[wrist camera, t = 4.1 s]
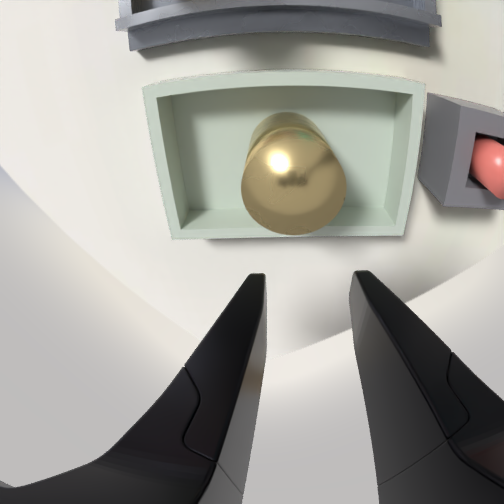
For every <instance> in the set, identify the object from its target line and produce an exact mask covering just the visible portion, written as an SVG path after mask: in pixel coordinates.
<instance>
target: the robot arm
mask: <svg viewBox="0 0 504 504" xmlns="http://www.w3.org/2000/svg"><path fill="white" fill-rule="evenodd" d="M349 304H350V313H351V321H352V331H353V340H354V349H355V355H356V360H357V364H358V369H359V374H360V379H361V384H362V389H363V394H364V399H365V405H366V411H367V416H368V422H369V428H370V435H371V440H372V448H373V453H374V462H375V469H376V477H377V485H378V495H379V504H504V401H503V400H502V399H501V398H500V397H499V396H498V395H497V394H496V393H494V392H493V391H492V390H491V389H490V388H489V387H488V386H487V385H486V384H485V383H484V382H483V381H482V380H481V379H479V378H478V377H477V376H476V375H475V374H474V373H473V372H472V371H471V370H470V369H469V368H468V367H467V366H466V365H465V364H464V363H463V362H462V361H461V360H460V359H459V357H457V355H456V354H455V353H454V352H452V353H451V349H450V348H449V347H448V346H447V345H446V344H445V343H444V342H443V341H442V340H441V339H440V338H439V337H438V336H437V335H436V334H435V333H434V332H433V331H432V330H431V329H430V328H429V327H428V326H427V325H426V324H425V323H424V322H423V321H422V320H421V319H420V318H419V317H418V316H417V315H416V314H415V313H414V312H413V311H412V310H411V309H410V308H409V307H408V306H407V305H406V304H404V303H403V302H402V301H401V300H400V299H399V298H398V297H397V296H396V295H395V294H394V293H393V292H392V291H391V290H390V289H389V288H388V287H386V286H385V285H384V284H383V283H382V282H381V281H380V280H379V279H378V278H377V277H376V276H375V275H373V274H372V273H371V272H370V271H368V270H362V271H355V272H354V273H353V276H352V282H351V287H350V292H349ZM266 348H267V292H266V276H265V274H264V273H253V274H249V275H248V277H247V278H246V279H245V281H244V282H243V284H242V285H241V287H240V288H239V289H238V291H237V292H236V294H235V295H234V296H233V298H232V299H231V301H230V302H229V303H228V305H227V306H226V308H225V309H224V310H223V312H222V313H221V315H220V316H219V317H218V319H217V320H216V322H215V323H214V324H213V326H212V327H211V329H210V330H209V331H208V333H207V334H206V336H205V337H204V338H203V340H202V341H201V342H200V344H199V345H198V347H197V348H196V349H195V351H194V352H193V354H192V355H191V356H190V358H189V359H188V360H187V362H186V363H185V367H182V369H181V370H180V371H179V373H178V374H177V375H176V377H175V378H174V380H173V381H172V382H171V384H170V385H169V386H168V387H167V389H166V390H165V391H164V392H163V394H162V395H161V396H160V397H159V398H158V399H157V401H156V402H155V403H154V404H153V405H152V406H151V407H150V408H149V409H148V411H147V412H146V413H145V414H144V415H143V416H142V417H141V418H140V419H139V420H138V421H137V422H136V423H135V424H134V425H133V426H132V427H131V428H130V429H129V430H128V431H127V432H126V434H125V435H123V437H122V438H121V439H120V440H119V441H118V442H117V443H116V444H115V445H114V446H113V447H112V448H111V449H110V450H108V451H107V452H106V453H105V454H103V455H102V456H101V457H99V458H97V459H96V460H94V461H92V462H90V463H88V464H85V465H83V466H80V467H78V468H75V469H72V470H70V471H67V472H64V473H61V474H59V475H56V476H53V477H50V478H47V479H44V480H41V481H38V482H35V483H31V484H28V485H25V486H20V487H12V486H10V485H8V484H6V483H4V482H2V481H0V504H242V499H243V493H244V488H245V482H246V477H247V471H248V466H249V460H250V454H251V449H252V442H253V437H254V430H255V425H256V418H257V412H258V406H259V399H260V393H261V387H262V380H263V373H264V367H265V360H266Z"/></svg>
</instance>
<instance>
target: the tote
mask: <svg viewBox="0 0 504 504" xmlns="http://www.w3.org/2000/svg"><path fill="white" fill-rule="evenodd" d="M142 91H143V98H144V104H145V110H146V117H147V122H148V128H149V134H150V139H151V145H152V150H153V155H154V160H155V165H156V170H157V175H158V180H159V185H160V190H161V194H162V199H163V203H164V208H165V212H166V216H167V221H168V225H169V229H170V233H171V237H172V240H183V239H218V238H259V237H313V236H403V234H404V229H405V225H406V220H407V216H408V211H409V206H410V201H411V196H412V190H413V185H414V179H415V173H416V167H417V160H418V153H419V146H420V138H421V129H422V119H423V108H424V94H425V84H424V83H421V82H417V81H414V80H410V79H406V78H402V77H395V76H388V75H380V74H372V73H362V72H350V71H335V70H310V69H277V70H252V71H237V72H225V73H215V74H206V75H198V76H191V77H184V78H177V79H171V80H165V81H160V82H157V83H154V84H151V85H148V86H144V87H142ZM280 112H294V113H298V114H301V115H303V116H305V117H307V118H309V119H310V120H311V121H313V122H314V123H315V124H316V125H317V127H318V128H319V130H320V131H321V133H322V134H323V136H324V138H325V139H326V141H327V143H328V144H329V146H330V148H331V149H332V151H333V153H334V154H335V156H336V158H337V159H338V161H339V163H340V165H341V166H342V169H343V171H344V174H345V177H346V184H347V190H346V197H345V200H344V203H343V205H342V208H341V209H340V211H339V212H338V214H337V215H336V216H335V218H334V219H333V220H331V221H330V222H329V223H328V224H327V225H325V226H324V227H322V228H320V229H319V230H316V231H314V232H311V233H308V234H303V235H284V234H279V233H275V232H272V231H270V230H268V229H266V228H264V227H263V226H261V225H260V224H258V223H257V222H256V221H255V220H254V219H253V218H252V217H251V216H250V214H249V213H248V211H247V210H246V208H245V206H244V203H243V200H242V195H241V181H242V176H243V171H244V167H245V162H246V158H247V153H248V148H249V144H250V140H251V136H252V134H253V131H254V130H255V128H256V127H257V125H258V124H259V123H260V122H261V121H262V120H264V119H265V118H267V117H268V116H270V115H273V114H276V113H280Z"/></svg>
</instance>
